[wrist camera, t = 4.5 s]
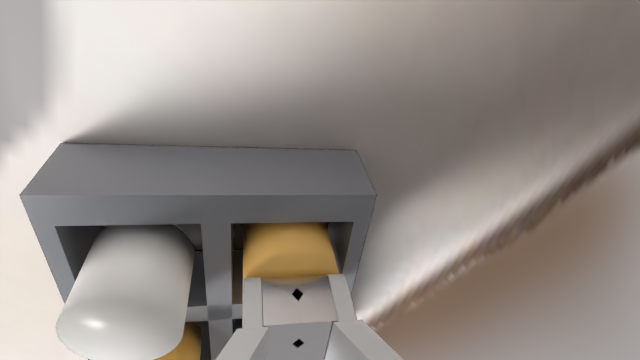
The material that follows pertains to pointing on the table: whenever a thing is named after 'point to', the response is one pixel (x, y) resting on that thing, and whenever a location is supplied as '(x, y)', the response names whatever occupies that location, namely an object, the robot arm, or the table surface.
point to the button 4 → (287, 249)
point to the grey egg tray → (197, 210)
